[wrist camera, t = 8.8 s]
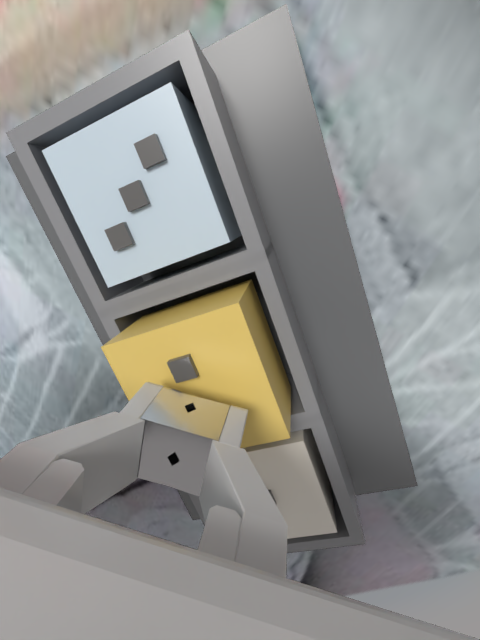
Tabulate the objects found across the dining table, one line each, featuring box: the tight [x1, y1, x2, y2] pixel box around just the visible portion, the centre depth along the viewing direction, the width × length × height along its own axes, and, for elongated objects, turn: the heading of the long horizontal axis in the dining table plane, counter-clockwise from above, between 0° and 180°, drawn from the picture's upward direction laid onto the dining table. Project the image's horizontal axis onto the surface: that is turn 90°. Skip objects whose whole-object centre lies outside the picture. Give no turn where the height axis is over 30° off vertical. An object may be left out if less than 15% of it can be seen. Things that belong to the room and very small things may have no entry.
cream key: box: [242, 428, 337, 539], centre depth 15 cm, size 4×4×3 cm
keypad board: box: [6, 4, 417, 553], centre depth 14 cm, size 12×20×4 cm, turn 20°
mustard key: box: [101, 279, 291, 448], centre depth 11 cm, size 4×4×3 cm
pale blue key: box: [42, 82, 242, 288], centre depth 11 cm, size 4×4×3 cm
